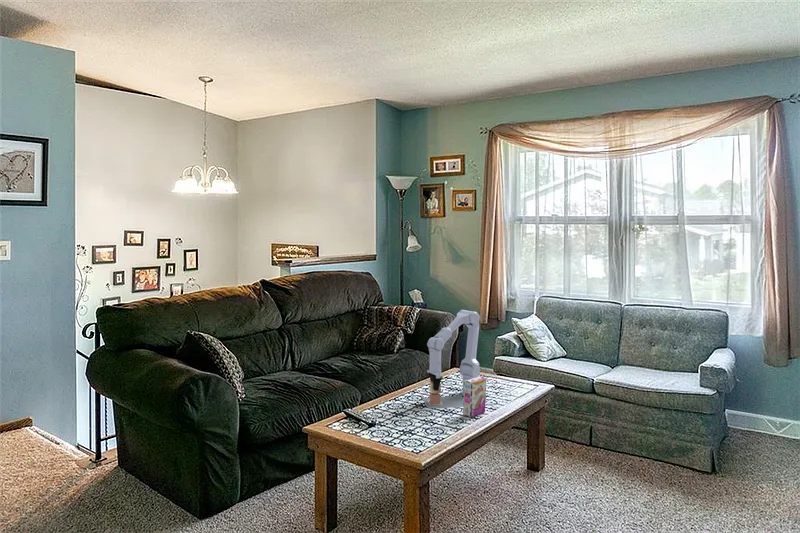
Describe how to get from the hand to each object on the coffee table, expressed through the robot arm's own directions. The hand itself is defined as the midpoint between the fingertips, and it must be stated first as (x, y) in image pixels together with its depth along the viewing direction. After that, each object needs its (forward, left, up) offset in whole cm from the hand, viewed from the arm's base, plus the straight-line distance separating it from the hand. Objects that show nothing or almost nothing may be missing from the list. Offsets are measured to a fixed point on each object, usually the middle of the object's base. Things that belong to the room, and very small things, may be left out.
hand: (435, 388), depth 272 cm
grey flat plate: (-5, 0, -7) cm, 9 cm away
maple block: (0, 0, -2) cm, 2 cm away
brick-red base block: (0, 0, -7) cm, 7 cm away
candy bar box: (-15, +18, -7) cm, 25 cm away
